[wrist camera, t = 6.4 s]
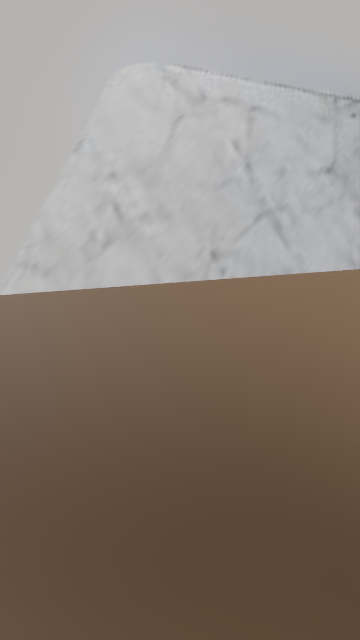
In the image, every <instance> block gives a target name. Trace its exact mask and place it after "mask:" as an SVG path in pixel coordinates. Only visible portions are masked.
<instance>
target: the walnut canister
mask: <svg viewBox="0 0 360 640" xmlns="http://www.w3.org/2000/svg"><path fill="white" fill-rule="evenodd" d="M0 640H360V269H357V270H343V271H329V272H316V273H302V274H288V275H274V276H261V277H247V278H233V279H219V280H206V281H192V282H178V283H164V284H151V285H137V286H123V287H109V288H96V289H82V290H68V291H54V292H40V293H27V294H13V295H0Z"/></svg>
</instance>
